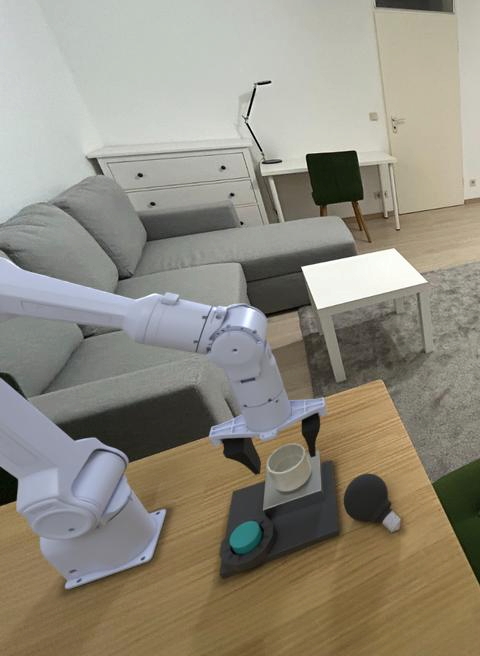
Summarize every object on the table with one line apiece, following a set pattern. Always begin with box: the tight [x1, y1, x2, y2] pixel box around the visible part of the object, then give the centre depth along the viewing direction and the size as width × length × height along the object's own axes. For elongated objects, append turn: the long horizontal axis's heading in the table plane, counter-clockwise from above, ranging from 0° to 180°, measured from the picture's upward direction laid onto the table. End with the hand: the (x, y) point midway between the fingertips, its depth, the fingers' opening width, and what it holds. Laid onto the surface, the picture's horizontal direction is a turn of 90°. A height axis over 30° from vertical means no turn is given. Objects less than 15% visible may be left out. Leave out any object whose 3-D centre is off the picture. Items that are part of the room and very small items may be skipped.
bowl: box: [265, 442, 311, 491], centre depth 60 cm, size 5×5×4 cm
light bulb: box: [343, 473, 402, 534], centre depth 58 cm, size 6×6×10 cm
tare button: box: [230, 521, 262, 554], centre depth 53 cm, size 4×4×2 cm
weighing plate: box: [263, 449, 325, 520], centre depth 62 cm, size 8×8×4 cm
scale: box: [219, 459, 340, 580], centre depth 59 cm, size 15×14×3 cm
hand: (286, 460), depth 59 cm, fingers open, 7 cm apart
